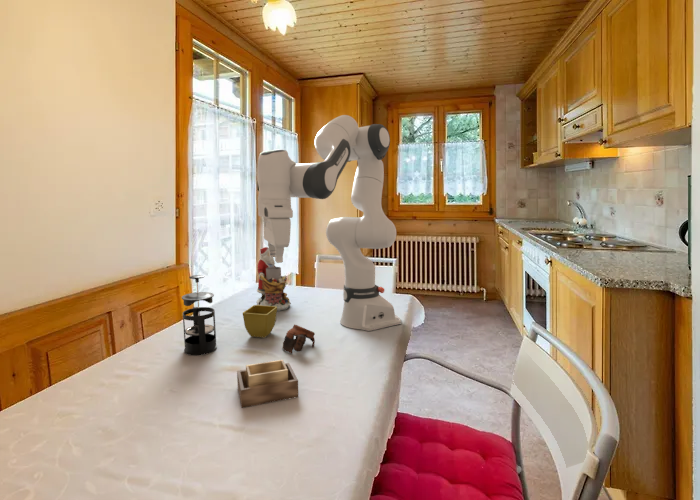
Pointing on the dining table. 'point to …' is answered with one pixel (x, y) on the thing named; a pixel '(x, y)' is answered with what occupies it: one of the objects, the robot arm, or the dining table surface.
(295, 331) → the pottery mug
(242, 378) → the big crate
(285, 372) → the small crate
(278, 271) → the santa figurine
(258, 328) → the flower pot
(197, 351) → the french press
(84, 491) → the dining table surface
